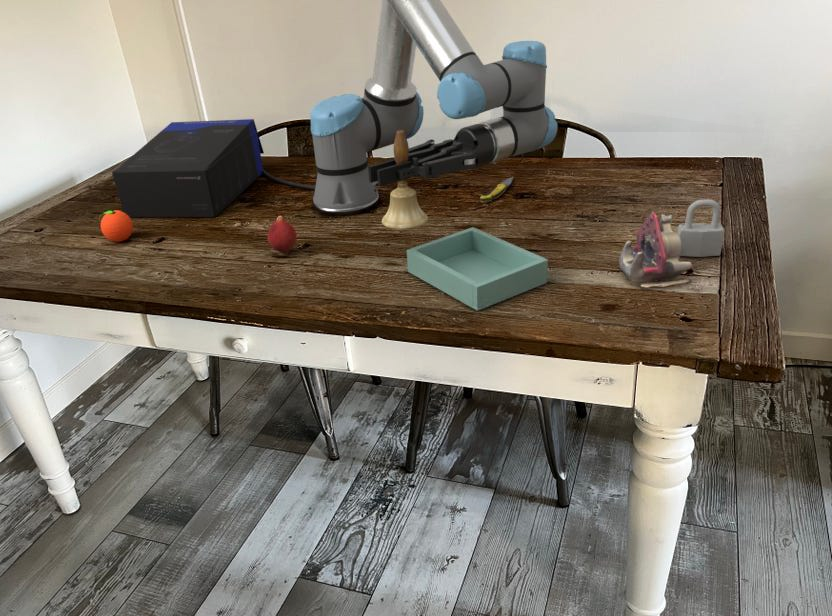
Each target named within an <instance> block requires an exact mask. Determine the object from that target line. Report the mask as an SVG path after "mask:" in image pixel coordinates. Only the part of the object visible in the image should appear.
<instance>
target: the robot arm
mask: <svg viewBox="0 0 832 616" xmlns="http://www.w3.org/2000/svg"><path fill="white" fill-rule="evenodd" d="M376 36H377V37H376V44H375V45H376V46H375V53H374V63H373V71H372V72H373V73H372V76H370V77H369V78H368V79H366V81H365V83H364V90H363V91H364V92H363V97H360V96H359V95H358V94H354V93H344V94H340V95H334V96H330V97H328V98H326V99H325V98H324V99H323V100H321V101H320V102H318V103H316V104H315V105H314V106H313V107H312V109H311V111H310V114H309V115H310V117H309V118H310V132H311V137H312V143H313V151H314V159H315V166H316V167H315V168H316V174H317V175H316V181H315V185H311V184H303V183H297V182H292V181H289V180H285V179H281V178H278V177H276V176H273V175H271V174H270V173H268V172H267V171H266V170H265V169H264V168H263V170H262V173H263V174H262V175H264V176H265V177H266V178H268V179H270V180H272V181H274V182H277V183H280V184H283V185H287V186H291V187H296V188H302V189H307V190H314V194H313V197H312V200H313V201H312V205H313V209H314V211H315V212H317V213H319V214H322V215H325V216H336V217H337V216H351V215H356V214H360V213H364V212H366V211H369V210H371V209H373V208H374V207H376V206H377V205H378V204H379V202H380V197H379V195H380V194H379V191H378V188H377V186H378V187H380V188H381V187H384V186H388V185H391V184H394V183H398V181H401V180H404V179H407V180H408V179H411V178H413V177H414V178H420V177H422V179H424V180H429V179H431V178H435V177H439V176H444V175H448V174H452V173H456V172H459V171H460V172H461V171H464V170H475V169H479V168H481V167H485V166H487V165H490V164H493V165H497V164H498V163H499V162H500V161H502V160H506V159H510V158H513V157H516V156H520V155H523V154H527V153H531V152H535V151H537V150H539V149H541V148H544V147H545V146H548V145H549V144H551V143H552V142H553V141H554V140H555V138H556V136H557V133H558V122H557V121H556V115H555V113H554V112H553V110H552V109H551V108H550V107H547V106H546V105H545V103H546V101H545V100H546V80H547V79H546V78H547V68H548V65H547V47H546V45H545V44H544V43H543V42H542V41H538V40H519V41H513V42H510V43H508V44H506V45H505V46H504V47H503V51H502V56H501V60H497V61H494V62H491V63H490V62H489V63H487V64H484V63H483V62H482V60H481V58H480V57H479V56H478V55H477V54H476V51H474V49H473V47H472V46H471V43H469V41H468V40H467V38H466V37H465V35H464V34H463V32H462V30H461V29H460V28H459V26H458V24H457V23H456V22H455V20H454V18H453V17H452V16H451V14H450V12H449V11H448V10H447V8H446V7H445V5H444V3H443V1H442V0H381V2H380V11H379V19H378V27H377V35H376ZM417 48H418V50H419V51H420V53H421V55H422V56H423V58H424V60H426V62H427V63H428V65H429V67H430V68H431V70H432V72H433V73H434V75H435V76H436V77H437V79H438V80H439V83H438V86H437V90H436V99H437V100H438V103H439V105H438V106H439V108H440V110H441V112H442V113H443V114H444V115H445V116H446V117H448V118H450V119H453V120H462V119H467V118H473V117H476V116H478V115H480V114H482V113H485V112H488V111H492V110H494V109H498V108H501V107H502V116H499V117H495V118H491V119H487V120H485V121H480V122H479V123H475V124H471V125H467V126H464V127H462V128H460V129H459V130H458V131H457V133H456V134H455V136H454V138H453V139H445V140H443V141H442V142H438V143H435V139H428V140H426V141H425V142H424V143H420V144H418V145H415V146H412V147H409V157H408V161H406V162H403V163H399V164H396V161H395V158H393V159H389V160H385V161H382V162H378V163H375V164H371V165H369V164H368V153H370V152H373V151H376V150H379V149H382V148H385V147H389V146H392V145H394V141H395V138H396V133H397V131H399V130H403V131H404V133H405V136H406V139H407V140H409V139H411V138H413V137H414V136H415V135H416V134H418V132H419V130H420V128H421V127H422V125H423V121H424V115H425V113H424V105H422V102H423V101H422V100H423V99H422V98H421V96H420V94H419V93H418V90H417V86H416V85H415V83H414V82H413V81H412V79H413V73H414V68H415V67H414V66H415V59H416V53H417ZM376 185H377V186H376Z"/></svg>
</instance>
